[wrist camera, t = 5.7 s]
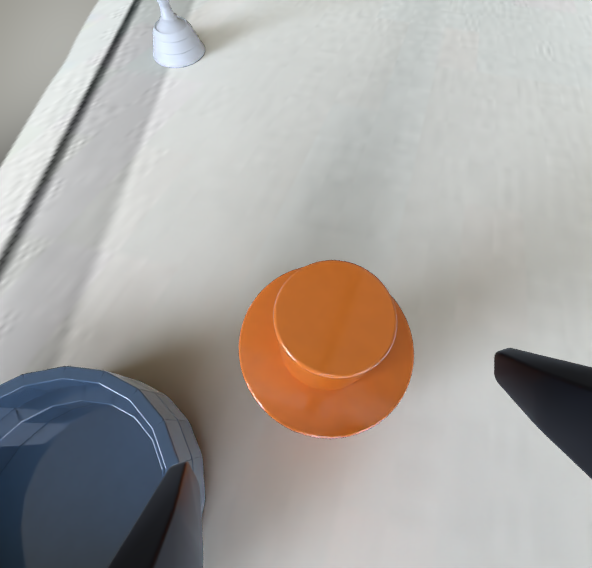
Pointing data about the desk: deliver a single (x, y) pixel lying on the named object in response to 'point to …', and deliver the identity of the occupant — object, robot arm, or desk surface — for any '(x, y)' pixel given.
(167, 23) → the chalice
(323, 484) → the desk surface
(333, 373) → the orange bottle
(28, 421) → the bowl
